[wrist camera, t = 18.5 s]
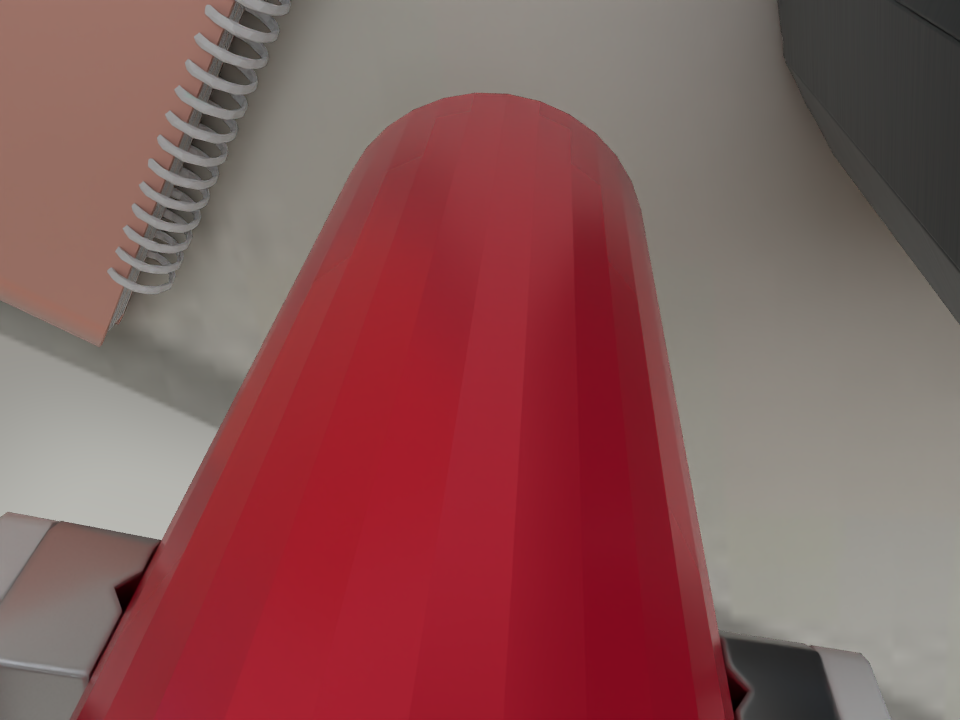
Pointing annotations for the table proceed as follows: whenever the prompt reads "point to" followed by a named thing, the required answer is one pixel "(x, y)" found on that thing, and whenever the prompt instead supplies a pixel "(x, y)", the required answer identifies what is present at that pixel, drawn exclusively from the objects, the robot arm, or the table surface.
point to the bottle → (443, 463)
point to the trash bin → (889, 114)
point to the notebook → (109, 143)
